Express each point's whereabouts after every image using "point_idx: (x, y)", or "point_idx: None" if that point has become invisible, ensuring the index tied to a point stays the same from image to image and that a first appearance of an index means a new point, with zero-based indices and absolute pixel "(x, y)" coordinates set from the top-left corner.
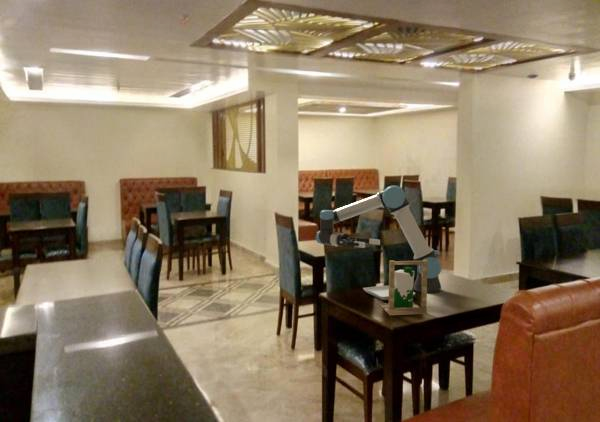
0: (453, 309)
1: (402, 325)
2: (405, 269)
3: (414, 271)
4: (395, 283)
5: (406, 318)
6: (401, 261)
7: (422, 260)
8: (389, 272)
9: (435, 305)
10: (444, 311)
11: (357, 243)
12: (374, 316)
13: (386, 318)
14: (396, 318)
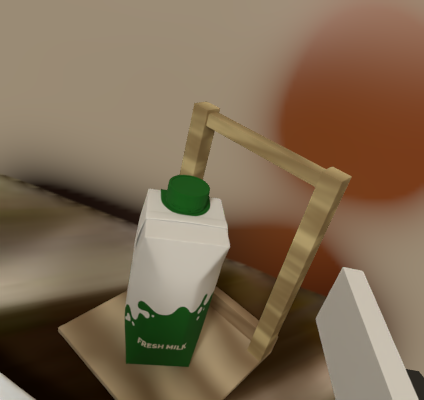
0: (73, 224)
1: (320, 294)
2: (207, 196)
3: (149, 189)
4: (212, 284)
5: (258, 302)
6: (294, 155)
7: (211, 111)
8: (321, 231)
9: (47, 266)
10: (111, 239)
11: (420, 377)
12: (329, 392)
13: (309, 349)
14: (282, 324)
